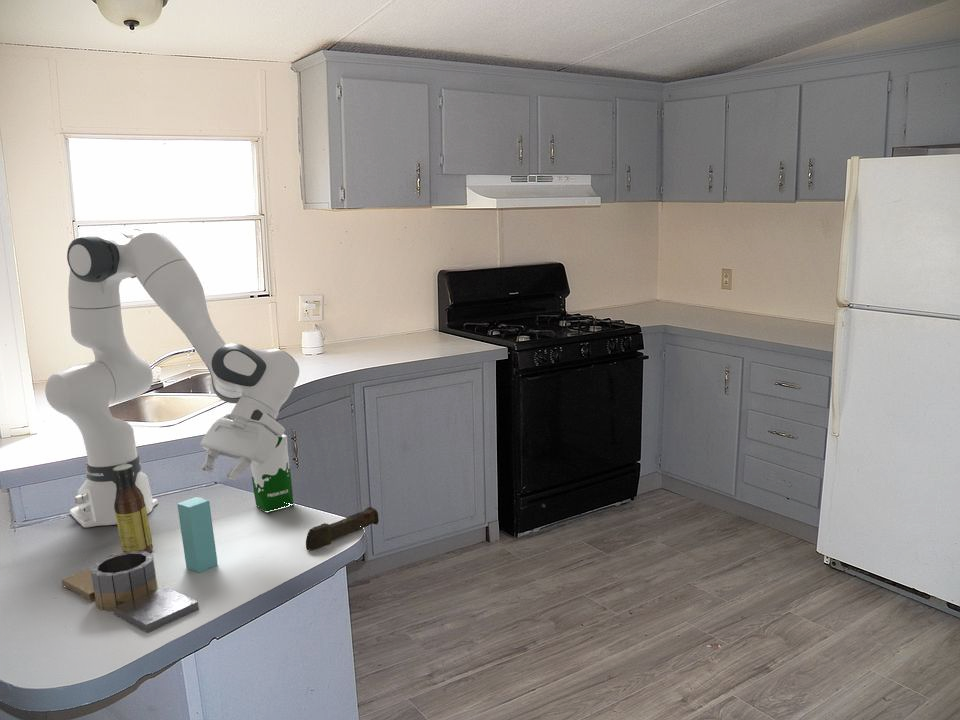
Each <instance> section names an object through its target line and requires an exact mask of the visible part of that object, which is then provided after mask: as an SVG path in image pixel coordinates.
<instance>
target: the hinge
mask: <svg viewBox="0 0 960 720" xmlns="http://www.w3.org/2000/svg"><path fill="white" fill-rule="evenodd" d="M61 584H62V587H63V586H65V587H67V588H68V590H69V589H70V590H69V591H71V592H73V593H74V592H75V594H76V593H77V594H76V595H78V594H79V595H78V596H80V595H81V596H80V597H82V596H83V597H84V599H85V598H86V600H87V599H88V601H89V600H90V601H89V602H92V601H94V600H93V599H95V605H96V607H97V608H98V609H100V608H101V609H100V610H102V611H103V610H108V611H107V612H113V613H114V614H115V615H114V616H116V615H117V616H116V617H118V618H120V617H121V618H120V619H122V620H123V619H124V621H125V620H126V622H127V621H128V622H127V623H129V624H130V625H132V626H135V627H136V628H137V629H140V630H142V631H143V632H146V633H147V634H148V633H150V632H153V631H155V630H157V629H158V628H161V627H163V626H166V625H168V624H170V623H172V622H175V621H176V620H179V619H181V618H183V617H184V616H187V615H189V614H191V613H194V612H196V611H198V610H199V608H200V607H199V601H197V600H195V599H194V598H191V597H189V596H187V595H185V594H183V593H180V592H178V591H177V590H174V589H172V588H170V587H167V586H165V585H162V586H158V580H157V572H156V568H155V561H154V554H152V553H151V552H149V553H148V552H146V551H132V552H131V551H130V552H125V553H124V552H119V553H115V554H112V555H110V556H107V557H105V558H102V559H100V560H99V561H98V562H96V563H95V564H93V565H92V566H91V567H90V568H88V569H84V570H82V571H80V572H77V573H74V574H71V575H69V576H66V577H63V578H61ZM65 587H64V588H65ZM67 588H66V589H67ZM83 597H82V598H83ZM91 600H92V601H91ZM110 610H111V611H110Z"/></svg>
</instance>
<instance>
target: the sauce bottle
mask: <svg viewBox="0 0 960 720" xmlns="http://www.w3.org/2000/svg"><path fill="white" fill-rule="evenodd" d="M133 471H134V469H133V466H132V465H131V464H124V465H120V466H116V467H115V468H113V475H114V476H115V481H116V498H115V503H114V510H115V515H116V520H117V524H116V525H117V529H118V536H119V541H120V545H121V546H120V547H121V549H122V551H123V552H122V553H125V552H130V551H131V552H132V551H146V552H148V553H151V552H152V551H153V549H154V548H153V547H154V545H153V538H152V532H151V526H150V521H149V517H148V514H147V510H146V505H145V502H144V496H143V494H142V492H141V491H140V489H139V488H138V487H137V486H136V485H135V480H134V475H133Z"/></svg>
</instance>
